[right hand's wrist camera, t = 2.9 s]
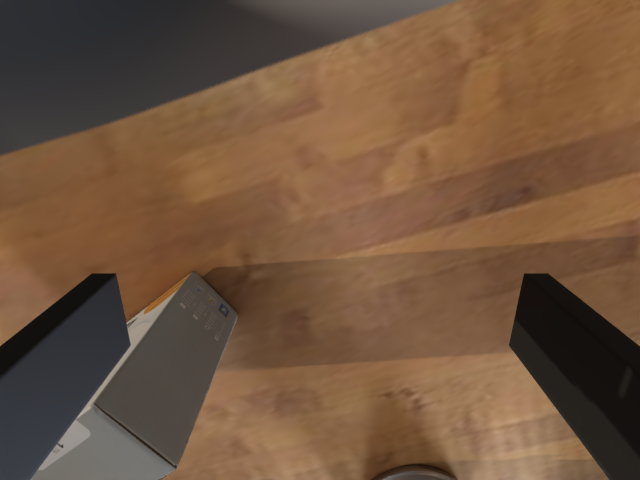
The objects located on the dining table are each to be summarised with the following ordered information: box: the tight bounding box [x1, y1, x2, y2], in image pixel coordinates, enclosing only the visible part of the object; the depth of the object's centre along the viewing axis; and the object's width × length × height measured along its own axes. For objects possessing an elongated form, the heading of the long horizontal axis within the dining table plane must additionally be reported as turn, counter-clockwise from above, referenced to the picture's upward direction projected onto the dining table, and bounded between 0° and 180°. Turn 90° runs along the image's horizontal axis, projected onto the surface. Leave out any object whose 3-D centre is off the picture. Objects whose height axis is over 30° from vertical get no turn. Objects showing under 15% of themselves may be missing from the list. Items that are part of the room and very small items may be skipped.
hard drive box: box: [30, 271, 238, 480], centre depth 36 cm, size 16×8×20 cm, turn 128°
